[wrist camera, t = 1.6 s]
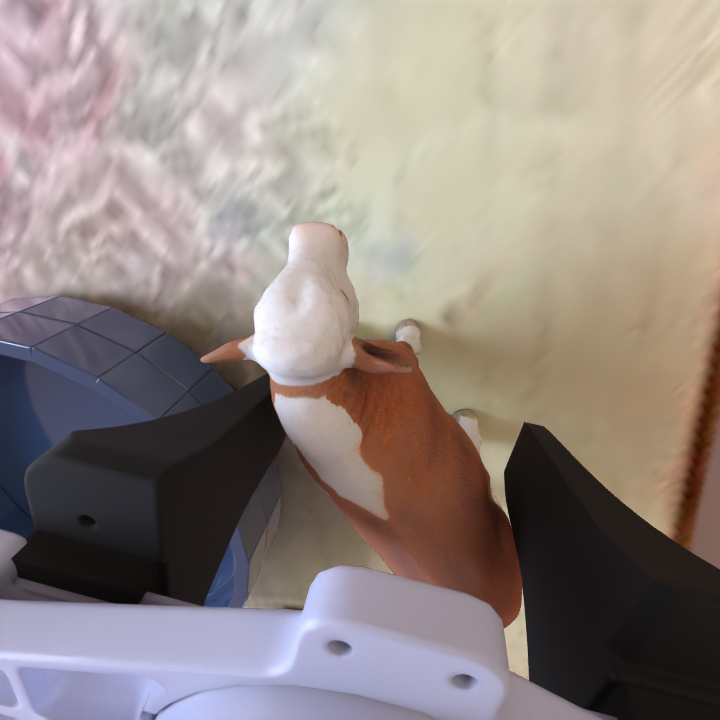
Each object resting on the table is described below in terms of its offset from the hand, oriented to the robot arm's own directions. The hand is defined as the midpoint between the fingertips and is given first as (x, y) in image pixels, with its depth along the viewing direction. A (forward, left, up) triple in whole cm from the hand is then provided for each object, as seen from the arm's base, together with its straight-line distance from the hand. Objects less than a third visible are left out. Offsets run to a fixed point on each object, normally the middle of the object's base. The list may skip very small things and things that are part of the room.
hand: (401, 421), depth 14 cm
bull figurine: (0, 0, -4) cm, 4 cm away
